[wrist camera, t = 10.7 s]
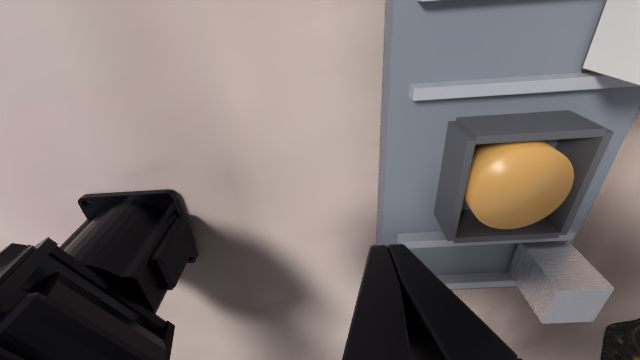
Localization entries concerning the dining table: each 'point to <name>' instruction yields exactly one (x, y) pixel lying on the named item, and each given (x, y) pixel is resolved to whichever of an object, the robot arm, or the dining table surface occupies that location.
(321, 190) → the dining table surface
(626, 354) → the black and yellow box
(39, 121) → the dining table surface
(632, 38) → the lever ivory
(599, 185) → the control panel
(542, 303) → the grey metal block
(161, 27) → the dining table surface
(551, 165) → the button amber
